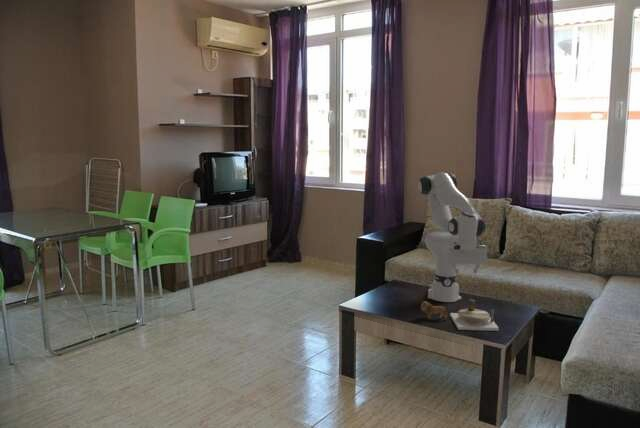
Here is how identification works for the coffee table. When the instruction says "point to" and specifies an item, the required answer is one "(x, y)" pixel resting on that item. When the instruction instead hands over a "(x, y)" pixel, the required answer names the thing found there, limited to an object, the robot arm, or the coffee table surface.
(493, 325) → the post base
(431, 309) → the lion figurine
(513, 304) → the coffee table surface
